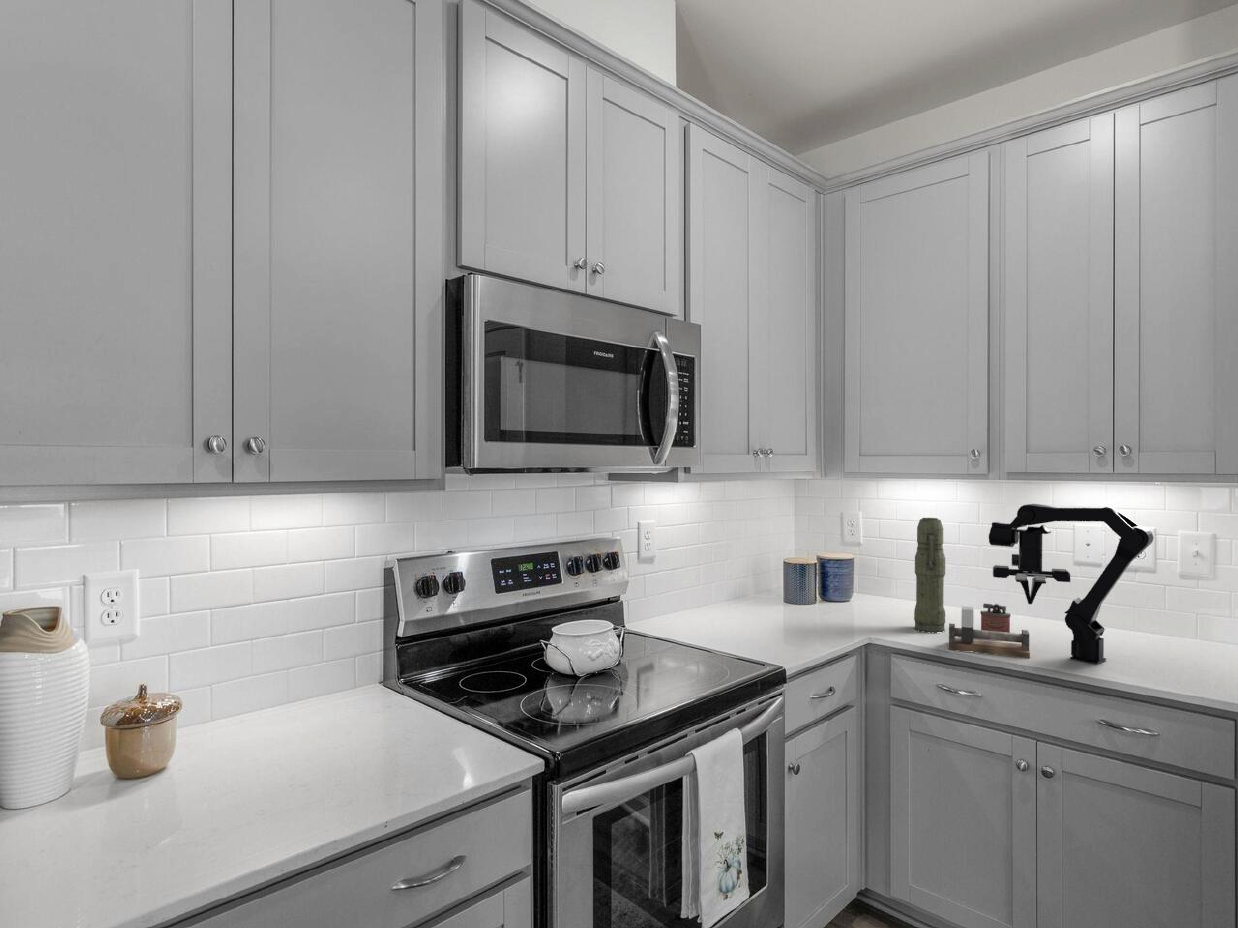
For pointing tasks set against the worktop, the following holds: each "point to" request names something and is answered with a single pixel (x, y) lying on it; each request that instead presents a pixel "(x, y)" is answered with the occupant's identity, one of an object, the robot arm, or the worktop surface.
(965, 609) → the white slider block
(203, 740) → the worktop surface
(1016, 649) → the pipe stand
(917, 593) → the thermos
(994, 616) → the lighter
